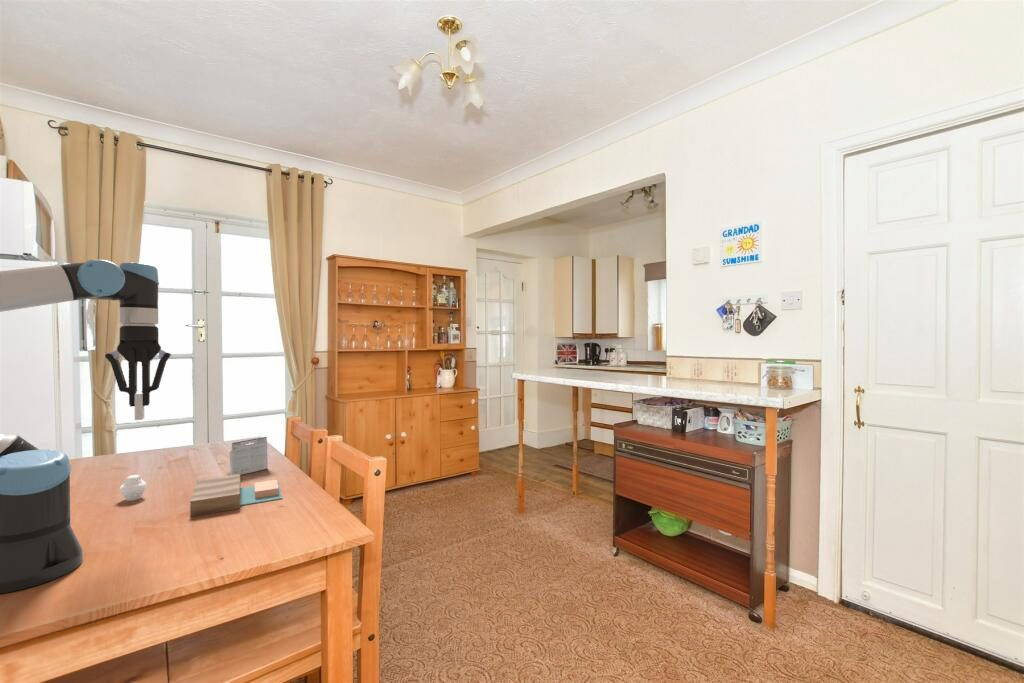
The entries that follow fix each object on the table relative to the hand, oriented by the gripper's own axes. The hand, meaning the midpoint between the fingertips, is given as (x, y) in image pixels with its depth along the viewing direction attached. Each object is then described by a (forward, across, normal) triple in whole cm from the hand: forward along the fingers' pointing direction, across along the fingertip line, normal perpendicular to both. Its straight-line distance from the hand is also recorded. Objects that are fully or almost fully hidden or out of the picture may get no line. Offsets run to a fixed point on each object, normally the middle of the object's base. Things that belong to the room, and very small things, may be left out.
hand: (139, 418), depth 114 cm
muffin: (+26, +5, -22) cm, 35 cm away
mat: (+26, -27, -8) cm, 38 cm away
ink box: (+26, -24, -34) cm, 49 cm away
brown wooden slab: (+26, -16, -8) cm, 32 cm away
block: (+24, -28, -8) cm, 38 cm away
